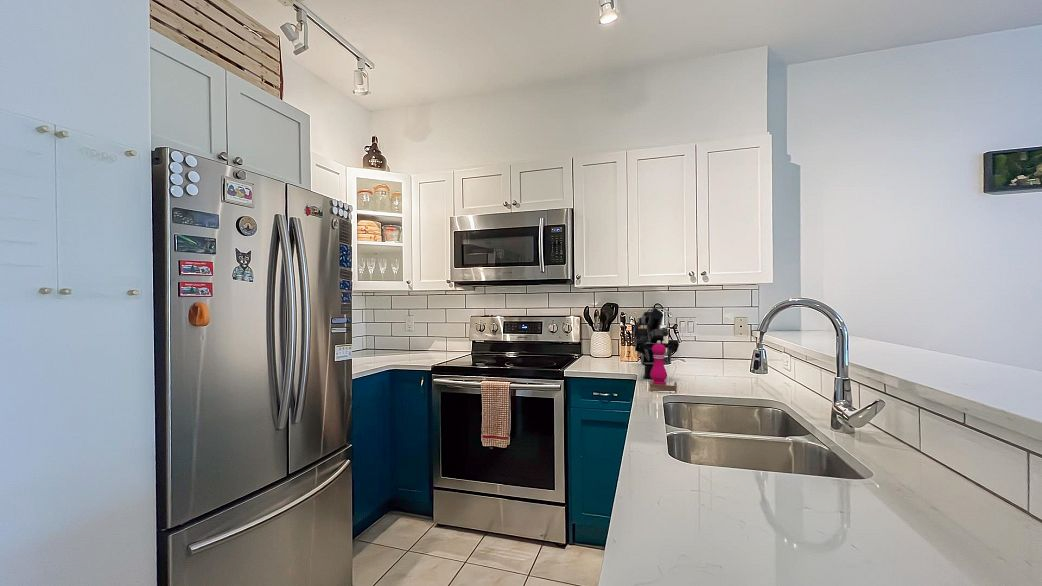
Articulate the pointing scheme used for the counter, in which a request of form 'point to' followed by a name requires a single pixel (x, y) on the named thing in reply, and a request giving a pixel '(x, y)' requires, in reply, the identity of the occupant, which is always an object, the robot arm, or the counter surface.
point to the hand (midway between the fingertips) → (659, 360)
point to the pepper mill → (658, 364)
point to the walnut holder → (662, 387)
